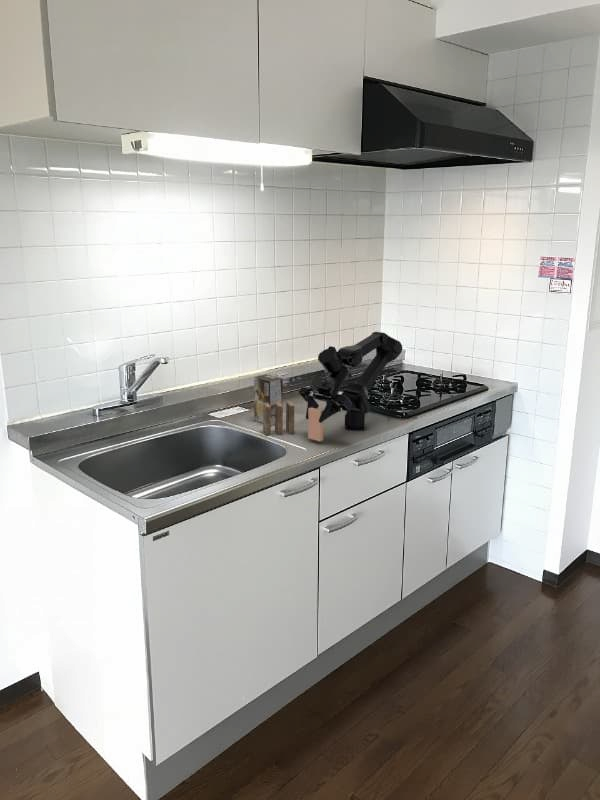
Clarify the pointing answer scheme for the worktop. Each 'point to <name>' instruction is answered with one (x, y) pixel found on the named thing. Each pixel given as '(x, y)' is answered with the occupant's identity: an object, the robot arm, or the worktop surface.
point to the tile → (315, 424)
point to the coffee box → (267, 395)
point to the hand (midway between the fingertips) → (313, 420)
